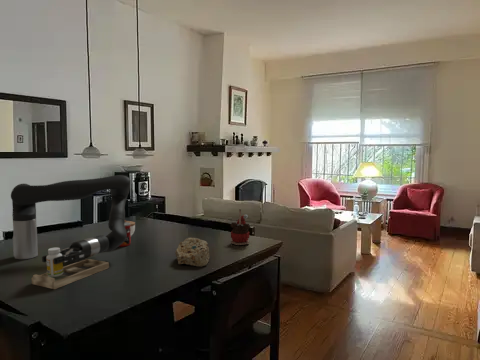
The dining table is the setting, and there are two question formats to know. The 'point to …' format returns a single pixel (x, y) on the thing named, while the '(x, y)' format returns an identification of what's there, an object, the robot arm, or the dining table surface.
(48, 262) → the supplement bottle
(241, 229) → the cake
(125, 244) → the canned food
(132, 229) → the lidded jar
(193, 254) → the rock
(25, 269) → the dining table surface
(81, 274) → the wooden tray
